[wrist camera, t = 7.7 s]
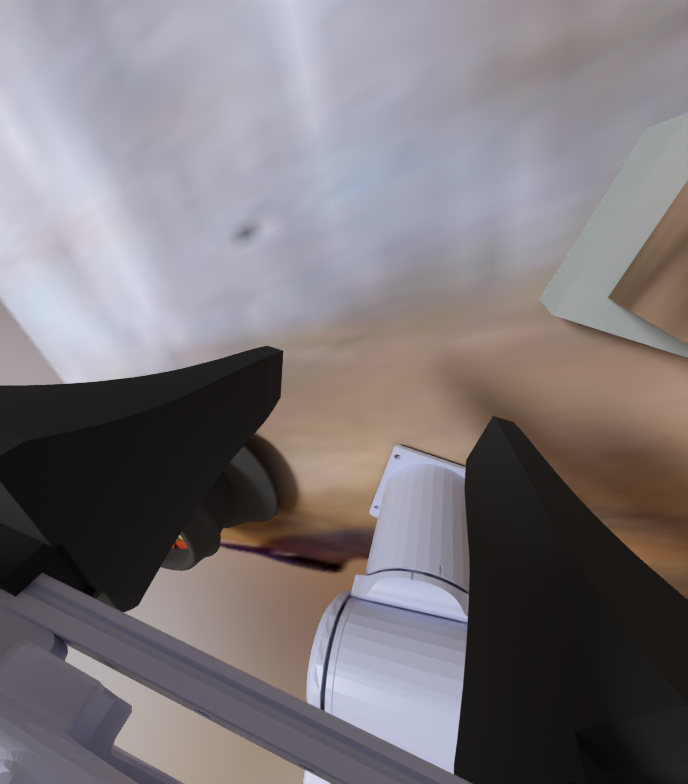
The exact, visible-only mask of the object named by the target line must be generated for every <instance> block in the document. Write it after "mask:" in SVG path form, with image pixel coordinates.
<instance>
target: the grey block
mask: <svg viewBox="0 0 688 784" xmlns="http://www.w3.org/2000/svg"><path fill="white" fill-rule="evenodd" d="M687 180H688V113H686V114H683V115H681V116H678V117H675V118H672V119H670V120H667V121H664V122H661V123H659V124H656V125H653V126H650V127H648V128H647V129H646V130H645V132H644V133H643V135H642V137H641V138H640V140H639V141H638V143H637V145H636V146H635V148H634V149H633V151H632V153H631V154H630V156H629V157H628V159H627V161H626V162H625V164H624V165H623V167H622V168H621V170H620V172H619V173H618V175H617V176H616V178H615V180H614V181H613V183H612V184H611V186H610V188H609V189H608V191H607V192H606V194H605V196H604V197H603V199H602V200H601V202H600V203H599V205H598V207H597V208H596V210H595V211H594V213H593V215H592V216H591V218H590V219H589V221H588V223H587V224H586V226H585V227H584V229H583V231H582V232H581V234H580V235H579V237H578V239H577V240H576V242H575V243H574V245H573V246H572V248H571V250H570V251H569V253H568V254H567V256H566V258H565V259H564V261H563V262H562V264H561V266H560V267H559V269H558V270H557V272H556V274H555V275H554V277H553V278H552V280H551V281H550V283H549V285H548V286H547V288H546V289H545V291H544V293H543V294H542V296H541V297H540V299H539V300H540V301H541V303H542V304H543V305H544V306H545V307H546V308H547V309H548V311H549V312H550V313H551V314H552V315H554V316H557V317H560V318H563V319H566V320H569V321H573V322H576V323H579V324H582V325H585V326H589V327H592V328H595V329H598V330H601V331H604V332H608V333H611V334H614V335H617V336H620V337H623V338H627V339H630V340H633V341H636V342H639V343H643V344H646V345H649V346H652V347H655V348H658V349H662V350H665V351H668V352H671V353H674V354H677V355H681V356H684V357H687V358H688V343H685V342H682V341H680V340H678V339H677V338H675V337H673V336H672V335H670V334H668V333H667V332H665V331H663V330H661V329H660V328H658V327H656V326H655V325H653V324H651V323H650V322H648V321H646V320H645V319H643V318H641V317H640V316H638V315H636V314H635V313H633V312H631V311H630V310H628V309H626V308H624V307H623V306H621V305H619V304H618V303H616V302H614V301H613V300H611V299H609V298H608V297H609V295H610V294H611V292H612V291H613V289H614V288H615V286H616V285H617V283H618V282H619V280H620V279H621V277H622V276H623V274H624V273H625V272H626V270H627V269H628V267H629V266H630V264H631V263H632V261H633V260H634V258H635V257H636V255H637V254H638V252H639V251H640V249H641V248H642V247H643V245H644V244H645V242H646V241H647V239H648V238H649V236H650V235H651V233H652V232H653V230H654V229H655V227H656V226H657V224H658V223H659V222H660V220H661V219H662V217H663V216H664V214H665V213H666V211H667V210H668V208H669V207H670V205H671V204H672V202H673V201H674V199H675V198H676V197H677V195H678V194H679V192H680V191H681V189H682V188H683V186H684V185H685V183H686V182H687Z"/></svg>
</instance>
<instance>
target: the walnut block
mask: <svg viewBox="0 0 688 784" xmlns="http://www.w3.org/2000/svg"><path fill="white" fill-rule="evenodd" d="M608 298H609V299H611V300H613V301H614V302H616V303H618V304H619V305H621V306H623V307H624V308H626V309H628V310H630V311H631V312H633V313H635V314H636V315H638V316H640V317H641V318H643V319H645V320H646V321H648V322H650V323H651V324H653V325H655V326H656V327H658V328H660V329H661V330H663V331H665V332H667V333H668V334H670V335H672V336H673V337H675V338H677V339H678V340H680V341H682V342H685V343H688V180H687V182H686V183H685V185H684V186H683V188H682V189H681V191H680V192H679V194H678V195H677V197H676V198H675V199H674V201H673V202H672V204H671V205H670V207H669V208H668V210H667V211H666V213H665V214H664V216H663V217H662V219H661V220H660V222H659V223H658V224H657V226H656V227H655V229H654V230H653V232H652V233H651V235H650V236H649V238H648V239H647V241H646V242H645V244H644V245H643V247H642V248H641V249H640V251H639V252H638V254H637V255H636V257H635V258H634V260H633V261H632V263H631V264H630V266H629V267H628V269H627V270H626V272H625V273H624V274H623V276H622V277H621V279H620V280H619V282H618V283H617V285H616V286H615V288H614V289H613V291H612V292H611V294H610V295H609V297H608Z"/></svg>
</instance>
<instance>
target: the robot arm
mask: <svg viewBox="0 0 688 784" xmlns="http://www.w3.org/2000/svg"><path fill="white" fill-rule="evenodd" d="M282 363H283V351H282V350H279V349H276V348H273V347H269V346H264V347H259V348H255V349H252V350H248V351H245V352H241V353H238V354H235V355H231V356H228V357H224V358H221V359H218V360H214V361H210V362H206V363H202V364H198V365H195V366H191V367H187V368H183V369H178V370H174V371H169V372H164V373H158V374H152V375H147V376H140V377H133V378H125V379H116V380H107V381H99V382H87V383H73V384H55V385H29V386H28V385H27V386H0V784H184V783H182V782H180V781H178V780H177V779H175V778H173V777H171V776H169V775H168V774H166V773H164V772H162V771H160V770H158V769H157V768H155V767H153V766H151V765H149V764H148V763H146V762H144V761H142V760H140V759H138V758H137V757H135V756H133V755H131V754H129V753H128V752H126V751H124V750H122V749H120V748H118V747H117V746H115V745H113V744H114V741H115V738H116V737H117V735H118V733H119V732H120V730H121V729H122V727H123V725H124V724H125V722H126V721H127V719H128V717H129V716H130V714H131V713H132V706H131V705H130V704H128V703H127V702H125V701H124V700H122V699H121V698H119V697H118V696H116V695H115V694H113V693H112V692H111V691H109V690H108V689H107V688H105V687H104V686H103V685H102V684H101V683H100V682H99V681H97V680H96V679H94V678H93V677H91V676H89V675H88V674H86V673H84V672H82V671H81V670H79V669H77V668H76V667H74V666H72V665H70V664H69V663H67V662H65V659H66V656H67V653H68V649H67V645H68V646H70V647H72V648H74V649H76V650H78V651H80V652H82V653H83V654H85V655H87V656H89V657H92V658H93V659H95V660H97V661H99V662H101V663H103V664H104V665H106V666H108V667H110V668H112V669H114V670H116V671H118V672H120V673H122V674H123V675H126V676H127V677H129V678H131V679H133V680H135V681H137V682H139V683H141V684H142V685H144V686H146V687H148V688H150V689H152V690H154V691H156V692H158V693H160V694H162V695H164V696H165V697H167V698H169V699H171V700H173V701H175V702H177V703H179V704H181V705H182V706H184V707H186V708H188V709H190V710H192V711H194V712H196V713H198V714H200V715H202V716H203V717H205V718H207V719H209V720H211V721H213V722H215V723H217V724H219V725H220V726H222V727H224V728H226V729H228V730H230V731H232V732H234V733H236V734H238V735H240V736H241V737H243V738H245V739H247V740H249V741H251V742H253V743H255V744H257V745H259V746H261V747H262V748H264V749H266V750H268V751H270V752H272V753H274V754H276V755H278V756H279V757H281V758H284V759H285V760H287V761H289V762H291V763H293V764H295V765H297V766H299V767H300V768H302V769H304V770H305V774H304V781H303V784H688V600H687V599H686V598H685V597H684V596H683V595H681V594H680V593H679V592H678V591H677V590H676V589H674V588H673V587H672V586H671V585H670V584H669V583H667V582H666V581H665V580H664V579H663V578H662V577H660V576H659V575H658V574H657V573H656V572H655V571H653V570H652V569H651V568H650V567H649V566H648V565H647V564H645V563H644V562H643V561H642V560H641V559H640V558H639V557H638V556H637V555H635V554H634V553H633V552H632V551H631V550H630V549H629V548H628V547H627V546H626V545H625V544H624V543H623V542H622V541H621V540H620V539H619V538H618V537H616V536H615V535H614V534H613V533H612V532H611V531H610V530H609V529H608V528H607V527H606V526H605V525H604V524H603V523H602V522H601V521H600V520H599V519H598V518H597V517H596V516H595V515H594V514H593V513H592V512H591V511H590V510H589V509H588V508H587V506H586V505H585V504H584V503H583V502H582V501H581V500H580V499H579V498H578V497H577V496H576V495H575V494H574V492H573V491H572V490H571V489H570V488H569V487H568V486H567V485H566V483H565V482H564V481H563V480H562V479H561V478H560V477H559V475H558V474H557V473H556V472H555V471H554V470H553V468H552V467H551V466H550V465H549V464H548V462H547V461H546V460H545V459H544V458H543V456H542V455H541V454H540V453H539V451H538V450H537V449H536V448H535V447H534V445H533V444H532V443H531V442H530V441H529V439H528V438H527V437H526V436H525V435H524V433H523V432H522V431H521V430H520V429H519V428H518V427H517V426H516V424H515V423H514V422H511V421H508V420H504V419H501V418H498V417H495V416H493V417H492V419H491V420H490V422H489V424H488V425H487V427H486V429H485V430H484V432H483V434H482V435H481V437H480V438H479V440H478V442H477V443H476V445H475V447H474V448H473V450H472V452H471V453H470V455H469V456H468V458H467V460H466V467H464V466H461V465H458V464H455V463H452V462H449V461H446V460H443V459H440V458H437V457H434V456H431V455H428V454H425V453H422V452H420V451H417V450H414V449H411V448H408V447H405V446H402V445H396V446H395V447H394V448H393V451H392V453H391V456H390V459H389V461H388V464H387V466H386V469H385V472H384V474H383V477H382V479H381V482H380V485H379V487H378V490H377V492H376V495H375V497H374V500H373V503H372V505H371V508H370V511H369V513H370V514H371V515H372V516H374V517H377V518H378V520H377V524H376V528H375V533H374V537H373V542H372V546H371V550H370V555H369V559H368V563H367V568H366V572H365V575H356V576H355V580H354V584H353V588H352V592H350V591H342V592H341V593H340V594H338V596H336V598H335V599H334V600H333V601H332V602H331V603H330V604H329V606H328V607H327V609H326V610H325V612H324V614H323V617H322V619H321V621H320V624H319V626H318V629H317V632H316V636H315V639H314V643H313V647H312V651H311V656H310V662H309V668H308V676H307V702H305V701H303V700H301V699H299V698H297V697H295V696H293V695H291V694H289V693H286V692H284V691H282V690H280V689H278V688H276V687H274V686H272V685H270V684H268V683H266V682H264V681H262V680H260V679H258V678H256V677H254V676H252V675H250V674H248V673H246V672H244V671H242V670H240V669H237V668H235V667H233V666H231V665H229V664H227V663H225V662H223V661H221V660H219V659H217V658H215V657H213V656H211V655H209V654H207V653H205V652H203V651H201V650H198V649H197V648H195V647H193V646H191V645H188V644H187V643H184V642H182V641H180V640H178V639H176V638H174V637H172V636H170V635H168V634H166V633H164V632H162V631H160V630H158V629H156V628H154V627H152V626H150V625H148V624H146V623H144V622H142V621H139V620H137V619H135V618H133V617H131V616H129V615H127V614H125V613H123V612H126V611H129V610H131V609H133V608H135V607H136V606H138V605H139V603H140V601H141V600H142V598H143V596H144V594H145V592H146V591H147V589H148V587H149V586H150V584H151V582H152V580H153V579H154V577H155V575H156V573H157V572H158V570H159V568H160V567H161V565H162V563H163V561H164V560H165V558H166V556H167V555H168V553H169V551H170V550H171V548H172V546H173V545H174V543H175V542H176V540H177V538H178V537H179V535H180V534H181V532H182V530H183V529H184V527H185V525H186V524H187V522H188V521H189V519H190V518H191V516H192V515H193V513H194V512H195V510H196V509H197V507H198V506H199V504H200V503H201V501H202V500H203V498H204V497H205V495H206V494H207V492H208V491H209V489H210V488H211V487H212V485H213V484H214V482H215V481H216V479H217V478H218V476H219V475H220V474H221V472H222V471H223V470H224V469H225V467H226V466H227V465H228V464H229V462H230V461H231V460H232V459H233V458H234V457H235V455H236V454H237V453H238V452H239V451H240V450H241V449H242V447H243V446H244V445H245V444H246V443H247V442H248V440H249V439H250V438H251V437H252V436H253V435H254V434H255V432H256V431H257V430H258V429H259V428H260V426H261V425H262V424H263V423H264V422H265V420H266V419H267V418H268V416H269V415H270V413H271V412H272V410H273V409H274V407H275V406H276V404H277V402H278V401H279V399H280V397H281V380H282ZM397 455H400V456H397Z"/></svg>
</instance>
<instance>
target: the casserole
mask: <svg viewBox="0 0 688 784" xmlns="http://www.w3.org/2000/svg"><path fill="white" fill-rule="evenodd" d="M278 509H279V499H278V494H277V491H276V487H275V484H274V482H273V480H272V478H271V477H270V475H269V473H268V471H267V469H266V468H265V467H264V465H263V464H262V463H261V461H260V460H259V459H258V457H257V456H256V455H255V454H254V453H253V452H252V451H251V450H250V449H249V448H248V447H247V446H246V445H244V446H243V447H242V449H241V450H240V451H239V452H238V453H237V454H236V455H235V457H234V458H233V459H232V460H231V461H230V462H229V464H228V465H227V466H226V467H225V469H224V470H223V471H222V472H221V474H220V475H219V476H218V478H217V479H216V481H215V482H214V484H213V485H212V487H211V488H210V489H209V491H208V492H207V494H206V495H205V497H204V498H203V500H202V501H201V503H200V504H199V506H198V507H197V509H196V510H195V512H194V513H193V515H192V516H191V518H190V519H189V521H188V522H187V524H186V525H185V527H184V529H183V530H182V532H181V534H180V535H179V537H178V538H177V540H176V542H175V543H174V545H173V546H172V548H171V550H170V551H169V553H168V555H167V556H166V558H165V560H164V561H163V563H162V565H161V567H163V568H166V569H171V570H181V571H183V570H188V569H191V568H192V567H194V566H195V565H196V564H197V563H198V562H199V561H201V560H202V559H203V558H205V557H209V556H211V555H213V554H215V553H216V552H217V550H218V549H219V547H220V539H221V537H220V533H221V531H222V529H223V528H230V527H233V526H236V525H239V524H242V523H245V522H253V521H265V520H270V519H272V518H273V517H274V516H276V515H277V512H278Z"/></svg>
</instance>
